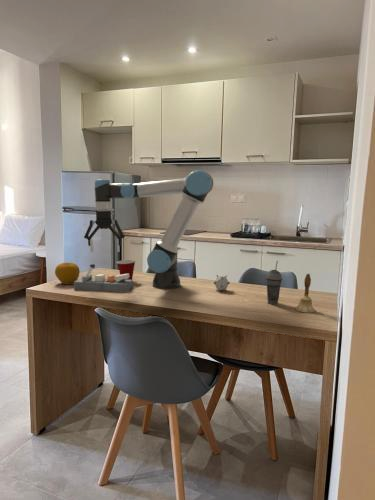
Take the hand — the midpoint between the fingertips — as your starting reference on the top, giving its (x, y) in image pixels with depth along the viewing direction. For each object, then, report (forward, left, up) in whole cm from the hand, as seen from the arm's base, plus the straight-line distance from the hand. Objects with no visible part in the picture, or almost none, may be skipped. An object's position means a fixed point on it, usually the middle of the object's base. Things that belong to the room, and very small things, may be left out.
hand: (105, 252), depth 186 cm
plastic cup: (-6, -17, -19) cm, 27 cm away
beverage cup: (-84, +13, -19) cm, 87 cm away
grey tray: (+1, 0, -19) cm, 19 cm away
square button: (+3, 0, -16) cm, 17 cm away
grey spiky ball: (-60, -6, -20) cm, 63 cm away
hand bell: (-97, +21, -20) cm, 101 cm away
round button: (-3, 0, -16) cm, 17 cm away
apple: (+24, -7, -19) cm, 32 cm away
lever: (+10, 0, -14) cm, 18 cm away
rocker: (-9, 0, -13) cm, 15 cm away
